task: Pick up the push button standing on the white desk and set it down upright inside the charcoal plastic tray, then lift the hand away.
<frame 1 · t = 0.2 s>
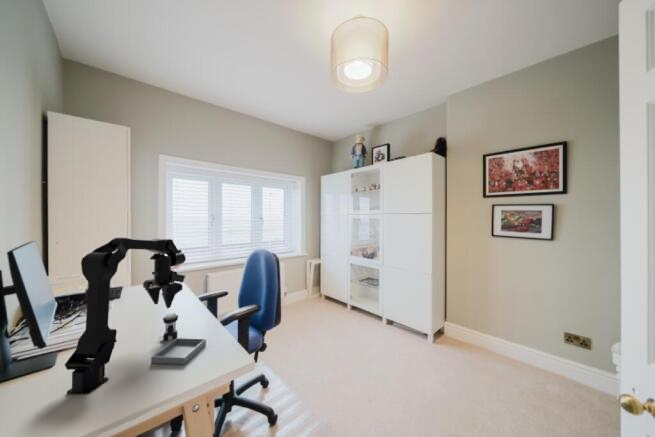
hand: (162, 305, 98), 14 cm above the table, tool pointing down, fingers open, 9 cm apart
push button: (168, 339, 98), on the table
tray: (180, 353, 88), on the table
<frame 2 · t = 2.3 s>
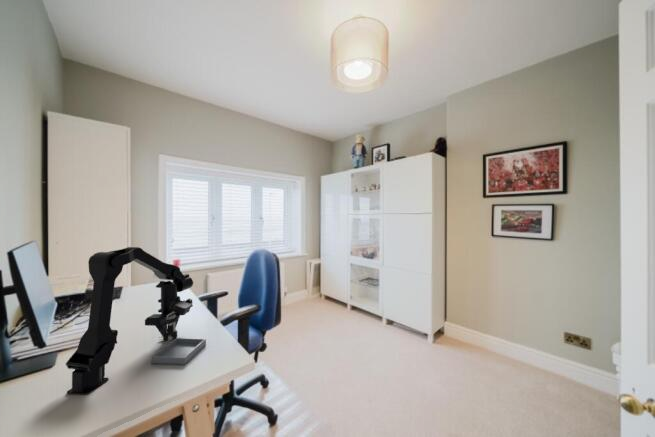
hand: (169, 332, 98), 3 cm above the table, tool pointing down, fingers closed on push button, 5 cm apart
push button: (168, 339, 98), on the table, touching gripper
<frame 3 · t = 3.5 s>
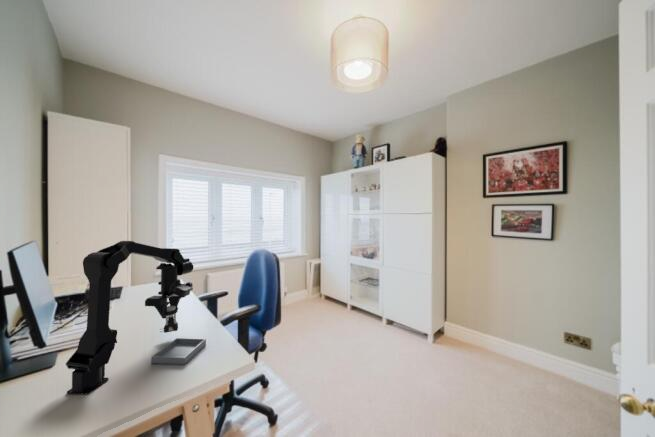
hand: (169, 315, 98), 10 cm above the table, tool pointing down, fingers closed on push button, 5 cm apart
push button: (169, 331, 98), point 3 cm above the table, touching gripper
when the fingers open (6 cm above the table, at t = 5.7 s): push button stays where it is, resting on tray.
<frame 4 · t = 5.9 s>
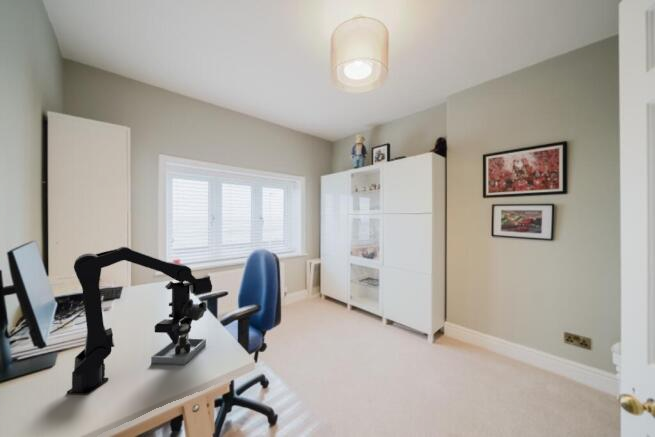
hand: (180, 340, 88), 5 cm above the table, tool pointing down, fingers open, 5 cm apart
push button: (180, 353, 88), resting on tray, touching gripper
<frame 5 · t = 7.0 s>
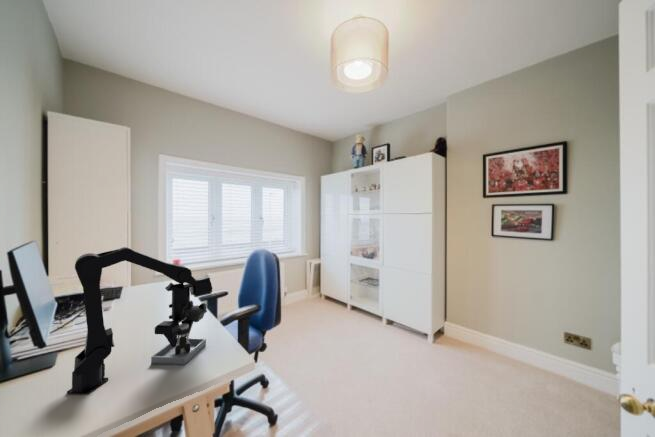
hand: (180, 341, 88), 5 cm above the table, tool pointing down, fingers open, 7 cm apart
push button: (180, 353, 88), resting on tray
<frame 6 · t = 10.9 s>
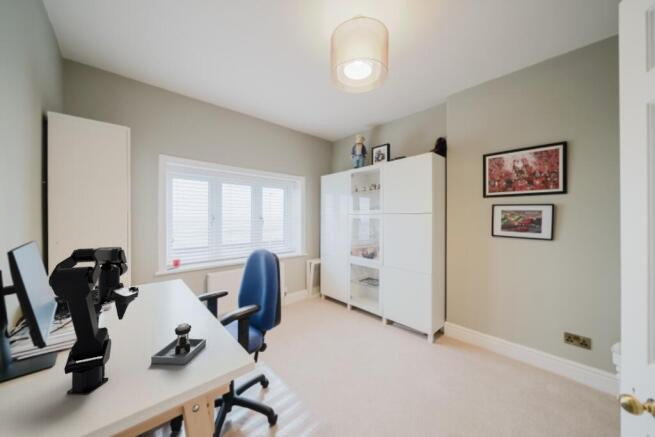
hand: (108, 324, 85), 12 cm above the table, tool pointing down, fingers open, 9 cm apart
nothing on the table moved.
at the end: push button inside the target area on the tray (0.1 cm from its centre), point 0.3 cm above the tray's base; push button tilted 0°; the gripper is holding nothing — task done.
